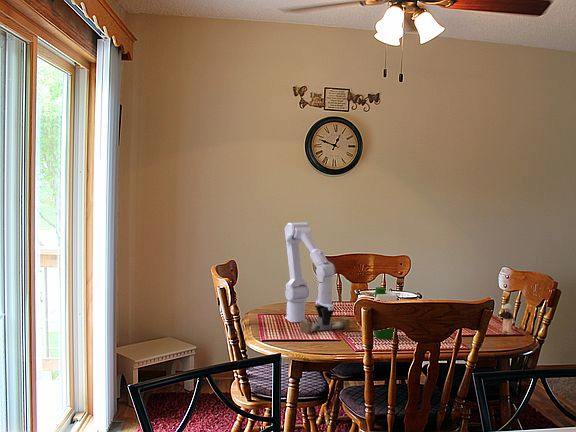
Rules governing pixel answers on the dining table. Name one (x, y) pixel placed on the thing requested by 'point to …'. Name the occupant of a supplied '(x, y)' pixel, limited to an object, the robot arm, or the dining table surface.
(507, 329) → the grandmother figurine
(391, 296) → the milk carton
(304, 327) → the brown lumpy block
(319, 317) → the coupler
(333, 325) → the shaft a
